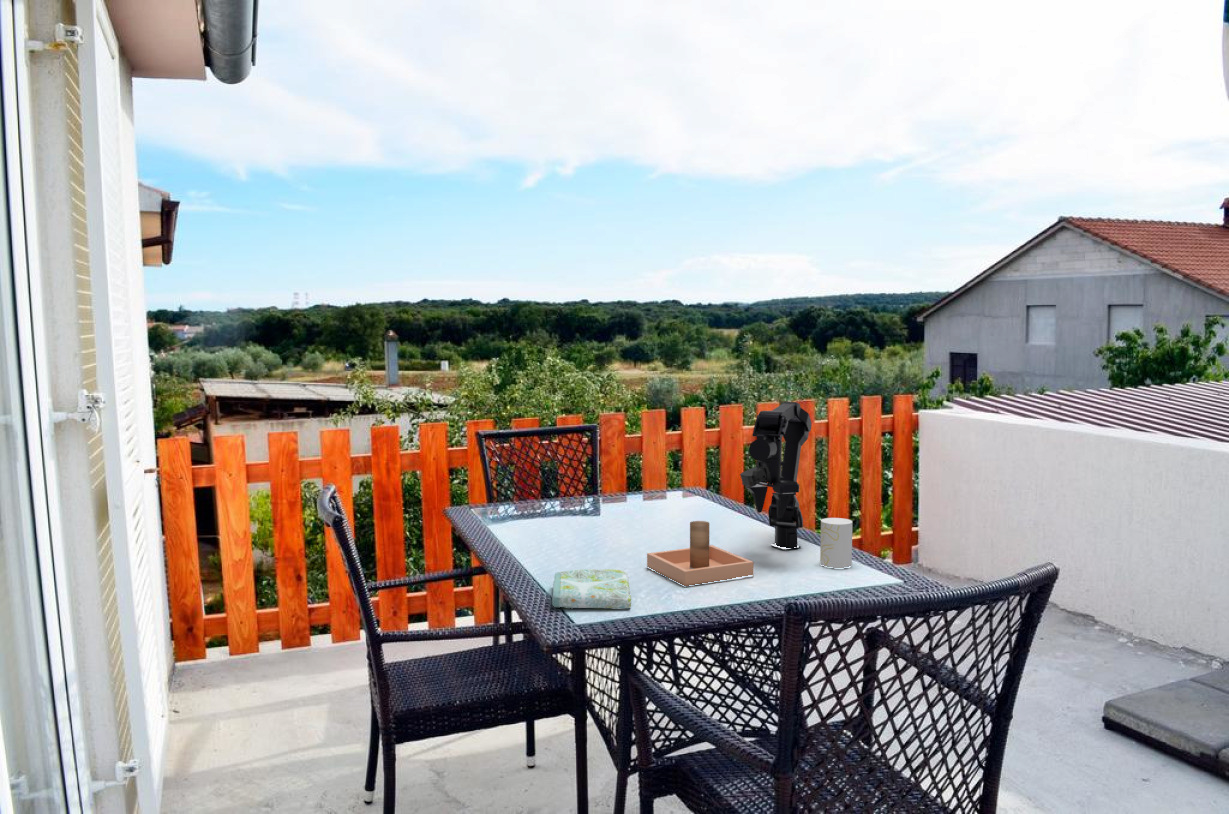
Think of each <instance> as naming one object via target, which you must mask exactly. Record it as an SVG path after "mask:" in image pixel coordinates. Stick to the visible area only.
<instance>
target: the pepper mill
mask: <svg viewBox="0 0 1229 814" xmlns="http://www.w3.org/2000/svg"><path fill="white" fill-rule="evenodd" d="M709 545H710V522H709V521H706V520H693V521H690V523H689V548H690V569H696V568H703V567H710V566H709Z"/></svg>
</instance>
